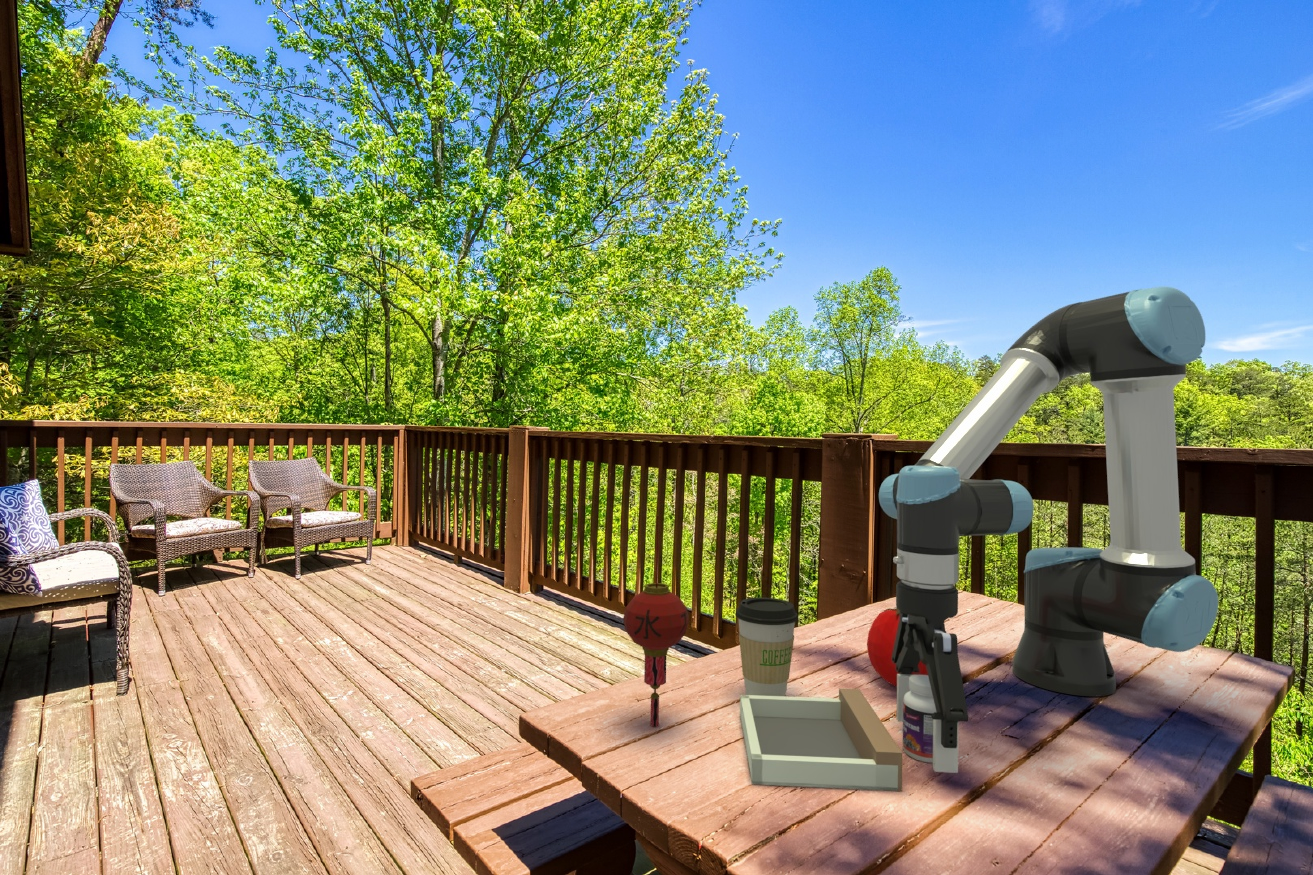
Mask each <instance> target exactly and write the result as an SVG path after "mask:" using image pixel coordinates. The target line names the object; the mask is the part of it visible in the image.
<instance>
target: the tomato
mask: <svg viewBox="0 0 1313 875" xmlns="http://www.w3.org/2000/svg"><path fill="white" fill-rule="evenodd" d="M899 615H900V611H899V610H898V609H897V607H896V606H895V607H894V608H886V609H883V610H882V611H880V612H879V614H878V615H877V616H876V618H874V620H873V622H872V623H871V626H870V629H869V630H868V633H867V634H868V635H867V642H866V648H867V655H868V658H869V661H870V664H871V666H872V667H873V669H874V671H875V672H876V673H877V674H878V675H879V676H880V677H881V678H882V679H883V680H884V681H885V682H887V683H888V684H890V685H892V686H894V687H896V688H897V674H899V672H897V671H896V668H895V665H896V663H893V662H892V659H891V658H892V653H893V648H894V643H895V638H896V633H897V629H898V624H899ZM899 655H900V653H899ZM918 667H919V669H920V671H919V672H920V673H912V674H914V675H928V673H927V668H926V665H925V664H923V663H922V662H921V660H920V662H919V665H918Z"/></svg>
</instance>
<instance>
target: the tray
mask: <svg viewBox="0 0 1313 875" xmlns="http://www.w3.org/2000/svg"><path fill="white" fill-rule="evenodd" d="M739 697H740V698H739V718H740V722H741V729H742V734H743V741H744V746H745V747H744V748H745V752H746V758H747V763H748V769H749V775H750V776H749V777H750V782H751V785H757V786H758V785H760V786H762V785H763V786H783V787H800V788H801V787H804V788H819V789H820V788H823V789H825V788H826V789H842V790H843V789H845V790H847V789H848V790H867V791H883V792H884V791H888V792H903V751H902V750H901V747H899V746H898V744H897V742H896V741H895V740H894V738H893V736H892V735H891V733H890V732H889V731H888V729H887V727H886V726H885V725H884V723H883V722H882V720H881V718H880V717H879V716H878V714H877V712H876V711H875V710H874V708H873V707H872V706H871V704H870V702H869V701H868V700H867V698H866V696H865V695H864V693H863V692H862V691H861V689H859V688H841V687H840V688H838V698H835V697H808V696H807V697H806V696H786V697H785V696H759V695H746V694H740V695H739Z"/></svg>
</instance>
